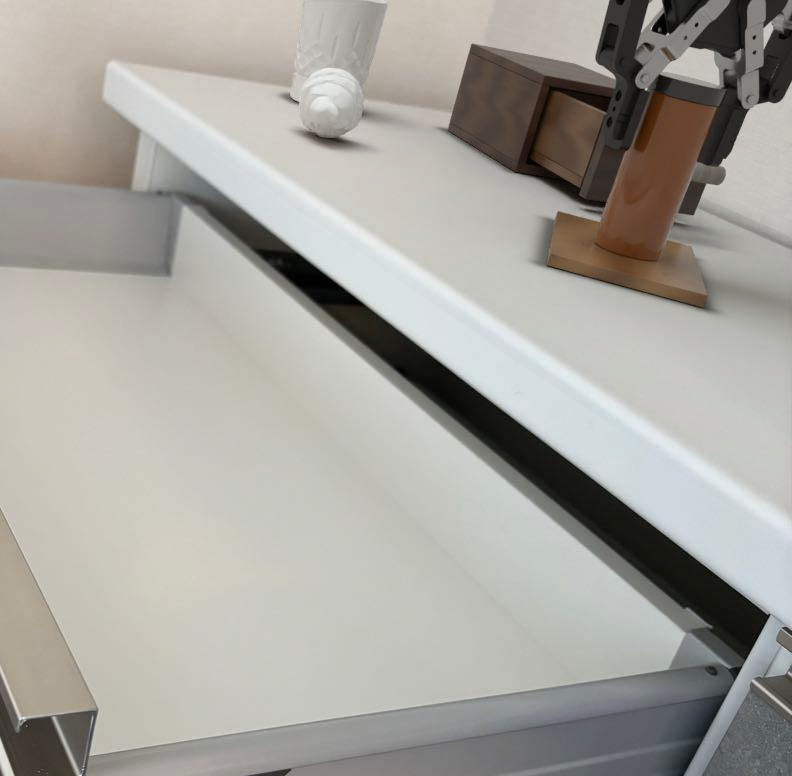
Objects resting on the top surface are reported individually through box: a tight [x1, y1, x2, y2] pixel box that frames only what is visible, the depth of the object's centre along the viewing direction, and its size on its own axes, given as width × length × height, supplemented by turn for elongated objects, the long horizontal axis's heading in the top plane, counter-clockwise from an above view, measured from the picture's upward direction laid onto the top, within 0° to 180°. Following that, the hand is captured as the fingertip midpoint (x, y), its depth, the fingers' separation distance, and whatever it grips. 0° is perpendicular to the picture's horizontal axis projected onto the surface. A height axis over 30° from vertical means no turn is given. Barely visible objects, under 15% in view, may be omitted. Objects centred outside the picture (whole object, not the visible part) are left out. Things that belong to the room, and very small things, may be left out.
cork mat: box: [546, 210, 709, 308], centre depth 75 cm, size 10×14×1 cm
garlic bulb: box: [298, 68, 365, 139], centre depth 90 cm, size 6×6×5 cm
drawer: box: [528, 86, 727, 216], centre depth 91 cm, size 19×10×6 cm, turn 14°
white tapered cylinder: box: [289, 0, 389, 103], centre depth 105 cm, size 8×8×10 cm
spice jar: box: [593, 70, 727, 261], centre depth 72 cm, size 5×5×11 cm
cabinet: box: [447, 42, 616, 181], centre depth 102 cm, size 16×12×8 cm
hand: (661, 155), depth 72 cm, fingers open, 6 cm apart
